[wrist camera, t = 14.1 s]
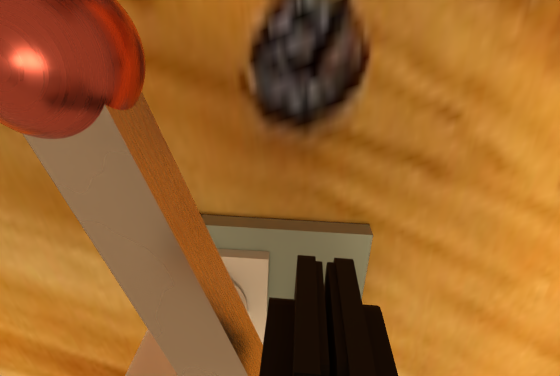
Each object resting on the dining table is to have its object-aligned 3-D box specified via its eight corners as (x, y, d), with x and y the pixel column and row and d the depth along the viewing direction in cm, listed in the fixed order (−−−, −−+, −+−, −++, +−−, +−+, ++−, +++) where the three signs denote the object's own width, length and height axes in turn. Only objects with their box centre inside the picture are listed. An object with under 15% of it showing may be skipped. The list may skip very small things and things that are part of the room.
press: (165, 333, 34) (69, 559, 20) (149, 211, 28) (0, 404, 14) (348, 346, 33) (385, 586, 19) (369, 224, 28) (442, 436, 14)
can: (252, 331, 29) (224, 514, 19) (174, 332, 30) (103, 510, 19) (244, 267, 27) (206, 437, 16) (159, 269, 27) (66, 435, 16)
